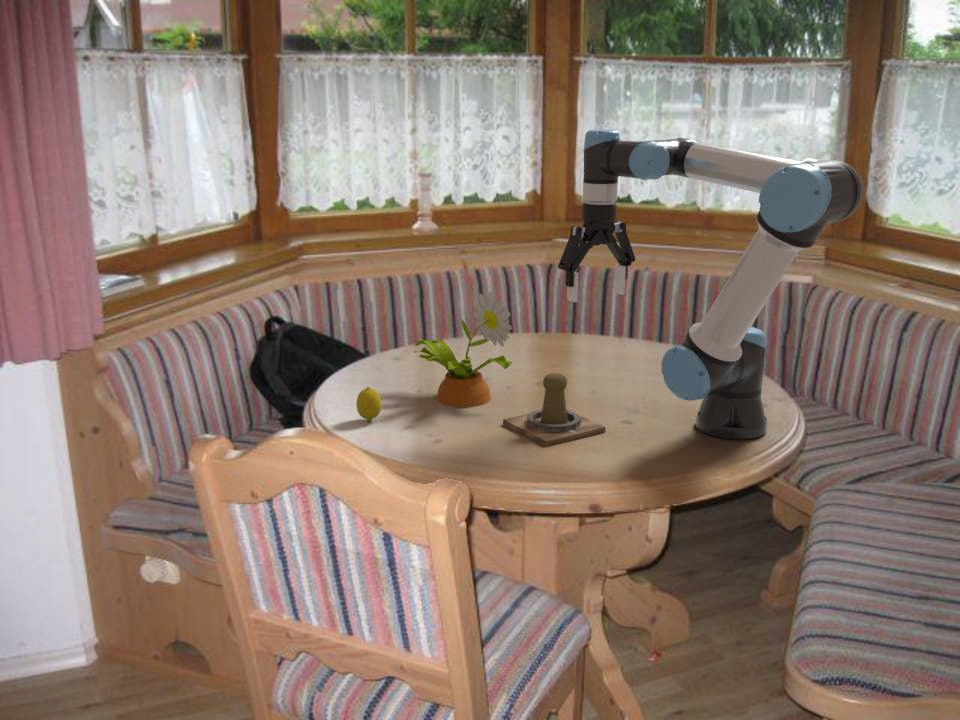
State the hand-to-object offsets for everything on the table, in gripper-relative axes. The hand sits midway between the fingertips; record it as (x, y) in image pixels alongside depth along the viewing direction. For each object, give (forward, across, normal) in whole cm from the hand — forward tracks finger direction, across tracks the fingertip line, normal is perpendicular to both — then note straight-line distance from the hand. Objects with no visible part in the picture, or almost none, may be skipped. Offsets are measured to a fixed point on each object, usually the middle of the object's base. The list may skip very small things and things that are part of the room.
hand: (596, 297), depth 220 cm
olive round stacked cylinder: (+26, +15, +5) cm, 30 cm away
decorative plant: (+27, +22, -24) cm, 42 cm away
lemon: (+27, +47, -21) cm, 58 cm away
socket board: (+27, +15, +5) cm, 31 cm away
